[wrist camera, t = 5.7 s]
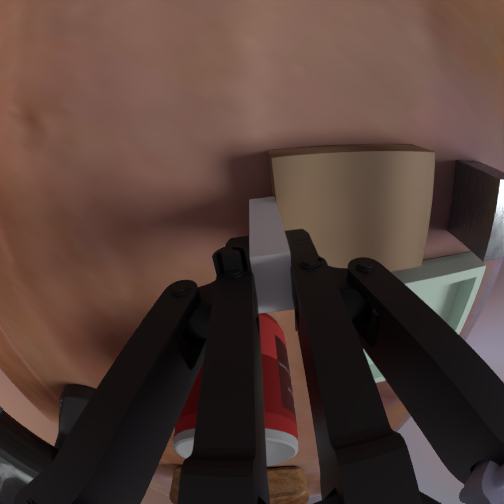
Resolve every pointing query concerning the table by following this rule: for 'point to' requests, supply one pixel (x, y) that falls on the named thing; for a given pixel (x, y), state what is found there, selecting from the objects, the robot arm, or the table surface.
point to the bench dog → (478, 209)
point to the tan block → (357, 200)
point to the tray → (443, 289)
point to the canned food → (275, 400)
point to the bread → (279, 481)
